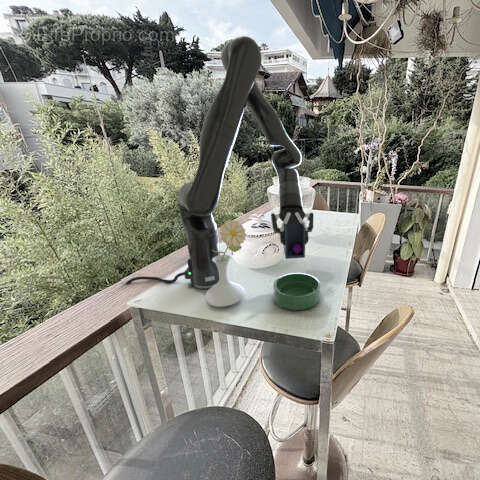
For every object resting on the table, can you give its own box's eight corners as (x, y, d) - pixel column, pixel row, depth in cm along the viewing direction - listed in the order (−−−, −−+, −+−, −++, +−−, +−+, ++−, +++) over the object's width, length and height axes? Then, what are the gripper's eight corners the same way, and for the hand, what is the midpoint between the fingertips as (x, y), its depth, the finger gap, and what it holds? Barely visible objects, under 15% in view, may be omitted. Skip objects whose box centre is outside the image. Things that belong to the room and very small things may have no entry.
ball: (289, 252, 83) (294, 245, 82) (291, 246, 86) (296, 240, 84) (297, 257, 84) (303, 251, 82) (299, 251, 87) (304, 245, 85)
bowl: (272, 312, 76) (271, 297, 74) (275, 286, 89) (275, 272, 87) (321, 311, 77) (322, 296, 75) (317, 285, 90) (318, 272, 89)
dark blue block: (283, 251, 87) (283, 222, 84) (301, 250, 89) (302, 221, 85) (285, 258, 82) (285, 228, 78) (304, 257, 83) (305, 227, 80)
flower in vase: (209, 315, 74) (198, 230, 65) (202, 295, 83) (191, 218, 73) (255, 302, 80) (250, 223, 71) (243, 284, 89) (238, 212, 80)
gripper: (268, 191, 84) (271, 240, 77) (313, 191, 87) (319, 238, 80) (268, 204, 90) (271, 249, 84) (309, 203, 93) (315, 247, 87)
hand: (294, 243), depth 82 cm, fingers closed on dark blue block, 6 cm apart
